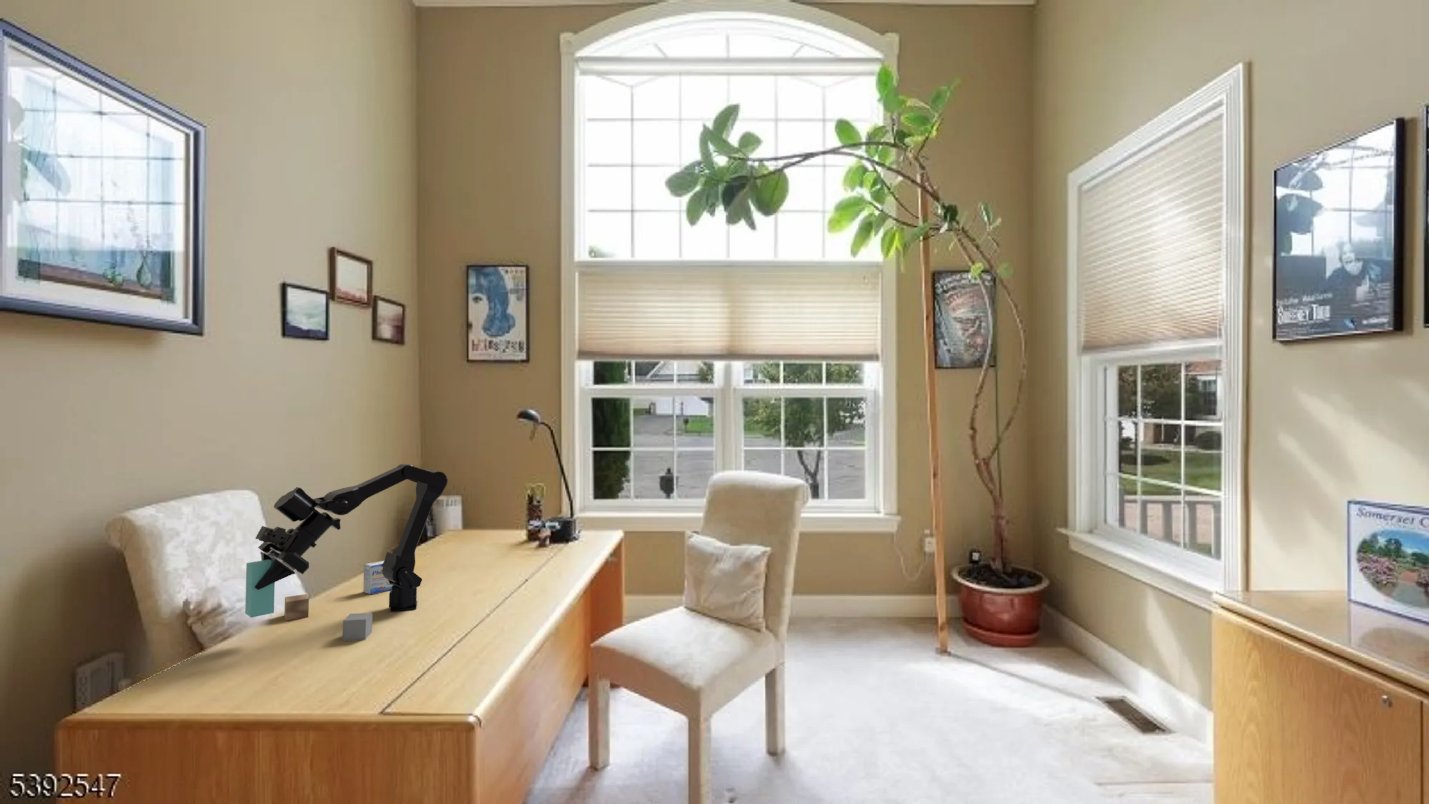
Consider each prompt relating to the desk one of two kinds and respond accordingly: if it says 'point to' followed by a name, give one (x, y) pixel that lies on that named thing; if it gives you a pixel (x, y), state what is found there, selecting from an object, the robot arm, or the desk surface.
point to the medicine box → (375, 579)
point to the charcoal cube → (357, 626)
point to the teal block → (258, 599)
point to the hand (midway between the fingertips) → (253, 586)
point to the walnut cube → (296, 607)
